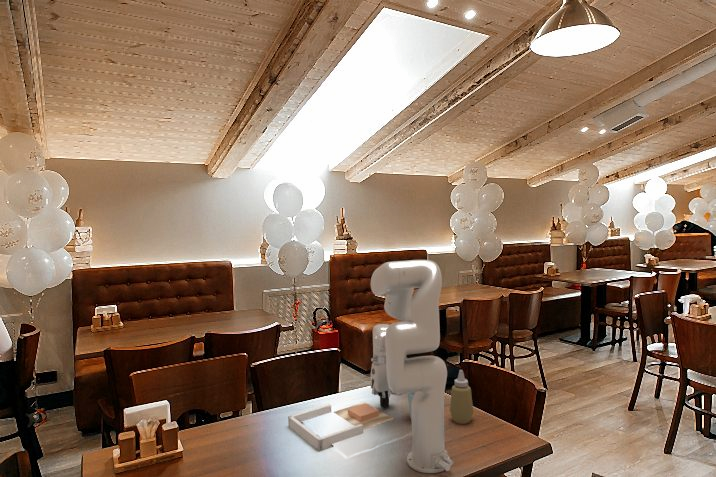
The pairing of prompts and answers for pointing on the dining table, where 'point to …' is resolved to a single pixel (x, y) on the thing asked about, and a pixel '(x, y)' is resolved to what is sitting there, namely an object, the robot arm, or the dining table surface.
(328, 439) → the box
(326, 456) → the dining table surface
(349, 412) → the tile
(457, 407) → the squeeze bottle
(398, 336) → the robot arm
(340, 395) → the dining table surface
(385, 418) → the beige square board
